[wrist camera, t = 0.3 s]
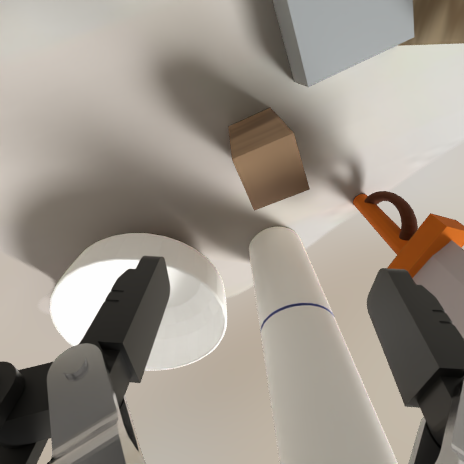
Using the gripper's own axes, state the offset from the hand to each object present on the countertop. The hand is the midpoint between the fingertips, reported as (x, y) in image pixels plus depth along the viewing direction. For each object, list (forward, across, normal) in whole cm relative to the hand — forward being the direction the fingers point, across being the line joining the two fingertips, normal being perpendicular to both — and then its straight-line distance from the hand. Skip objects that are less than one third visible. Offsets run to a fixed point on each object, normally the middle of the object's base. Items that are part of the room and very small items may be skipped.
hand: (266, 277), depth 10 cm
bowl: (+19, +14, +20) cm, 31 cm away
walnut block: (+21, 0, +1) cm, 21 cm away
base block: (+22, -5, -9) cm, 25 cm away
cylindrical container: (+21, -3, +16) cm, 26 cm away
